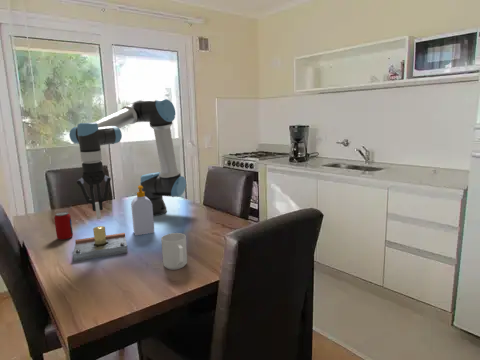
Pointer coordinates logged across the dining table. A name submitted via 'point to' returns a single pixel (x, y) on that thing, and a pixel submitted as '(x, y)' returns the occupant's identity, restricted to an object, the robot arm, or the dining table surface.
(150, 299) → the dining table surface
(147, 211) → the soap bottle
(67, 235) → the beverage can
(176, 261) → the mug
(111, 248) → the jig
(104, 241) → the brass cylinder
